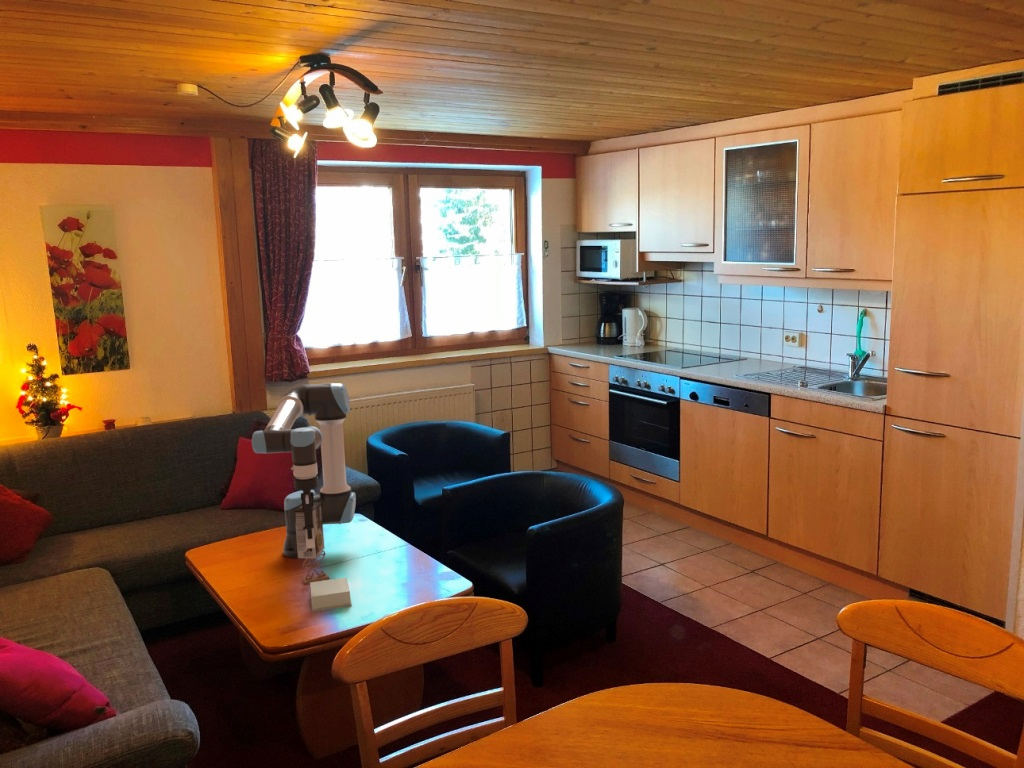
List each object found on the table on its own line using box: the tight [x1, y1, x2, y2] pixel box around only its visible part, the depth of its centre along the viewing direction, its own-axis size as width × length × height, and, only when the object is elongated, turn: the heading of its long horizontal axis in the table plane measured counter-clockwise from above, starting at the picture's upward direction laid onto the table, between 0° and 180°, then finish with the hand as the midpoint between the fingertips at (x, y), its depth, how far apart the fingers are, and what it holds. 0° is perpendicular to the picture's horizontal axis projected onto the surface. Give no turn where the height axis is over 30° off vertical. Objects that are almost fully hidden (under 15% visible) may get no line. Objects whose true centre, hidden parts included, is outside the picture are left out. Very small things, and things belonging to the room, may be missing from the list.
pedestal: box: [309, 577, 353, 613], centre depth 268 cm, size 13×13×5 cm
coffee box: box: [294, 502, 326, 559], centre depth 265 cm, size 9×6×16 cm
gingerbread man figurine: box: [301, 550, 330, 586], centre depth 285 cm, size 9×4×12 cm, turn 121°
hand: (310, 542), depth 266 cm, fingers closed on coffee box, 10 cm apart
